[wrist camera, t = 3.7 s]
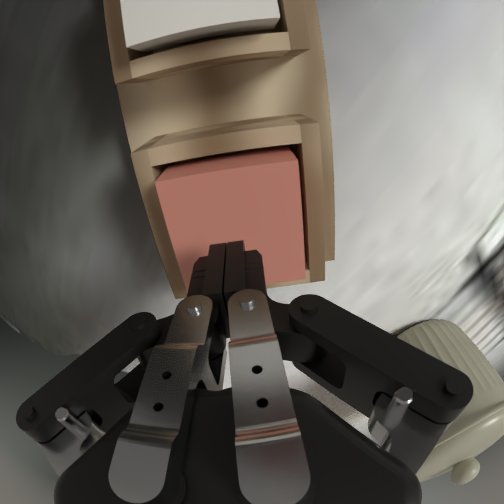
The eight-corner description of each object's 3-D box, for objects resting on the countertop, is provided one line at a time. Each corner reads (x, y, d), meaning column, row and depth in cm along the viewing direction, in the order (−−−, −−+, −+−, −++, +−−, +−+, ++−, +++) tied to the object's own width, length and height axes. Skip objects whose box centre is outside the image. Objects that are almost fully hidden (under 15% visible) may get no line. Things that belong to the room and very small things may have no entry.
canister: (342, 394, 40) (370, 522, 22) (369, 307, 30) (438, 491, 12) (440, 372, 40) (483, 476, 22) (484, 288, 30) (564, 410, 12)
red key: (288, 147, 16) (298, 160, 14) (297, 252, 20) (305, 279, 17) (168, 166, 17) (154, 182, 14) (194, 265, 20) (187, 293, 18)
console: (292, -69, 12) (310, -112, 6) (328, 247, 26) (351, 298, 20) (111, -36, 12) (70, -64, 6) (174, 267, 27) (158, 321, 21)
